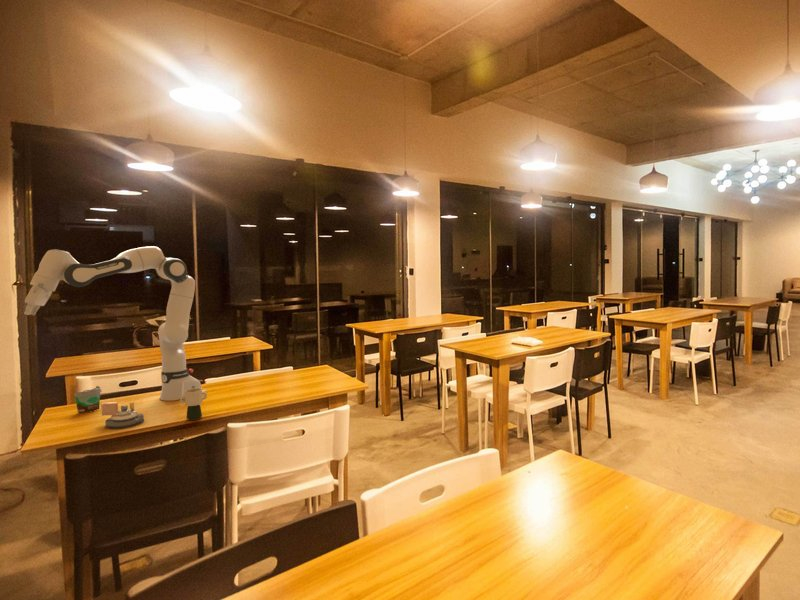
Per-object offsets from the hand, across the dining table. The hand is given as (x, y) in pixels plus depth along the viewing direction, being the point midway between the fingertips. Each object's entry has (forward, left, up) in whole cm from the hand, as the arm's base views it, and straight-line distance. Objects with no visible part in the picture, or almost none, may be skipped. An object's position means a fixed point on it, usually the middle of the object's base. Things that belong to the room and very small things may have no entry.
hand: (29, 314), depth 186 cm
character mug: (-32, +57, -47) cm, 81 cm away
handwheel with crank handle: (-16, +34, -47) cm, 61 cm away
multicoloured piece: (-15, +33, -45) cm, 58 cm away
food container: (-21, +2, -47) cm, 52 cm away
